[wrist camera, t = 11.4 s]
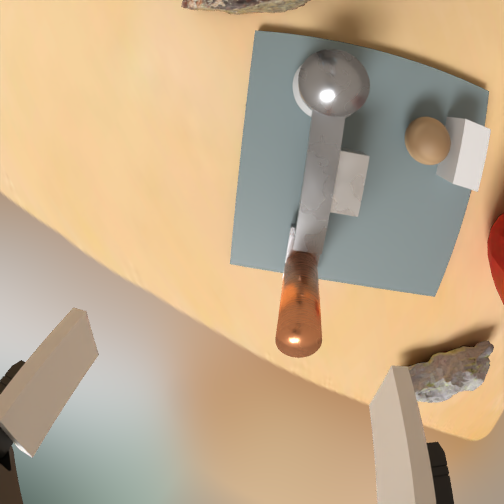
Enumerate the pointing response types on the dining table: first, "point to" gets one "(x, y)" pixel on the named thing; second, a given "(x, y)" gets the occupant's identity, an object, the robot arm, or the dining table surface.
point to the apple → (497, 254)
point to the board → (378, 173)
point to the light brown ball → (427, 140)
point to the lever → (321, 191)
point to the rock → (244, 5)
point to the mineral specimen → (451, 372)
